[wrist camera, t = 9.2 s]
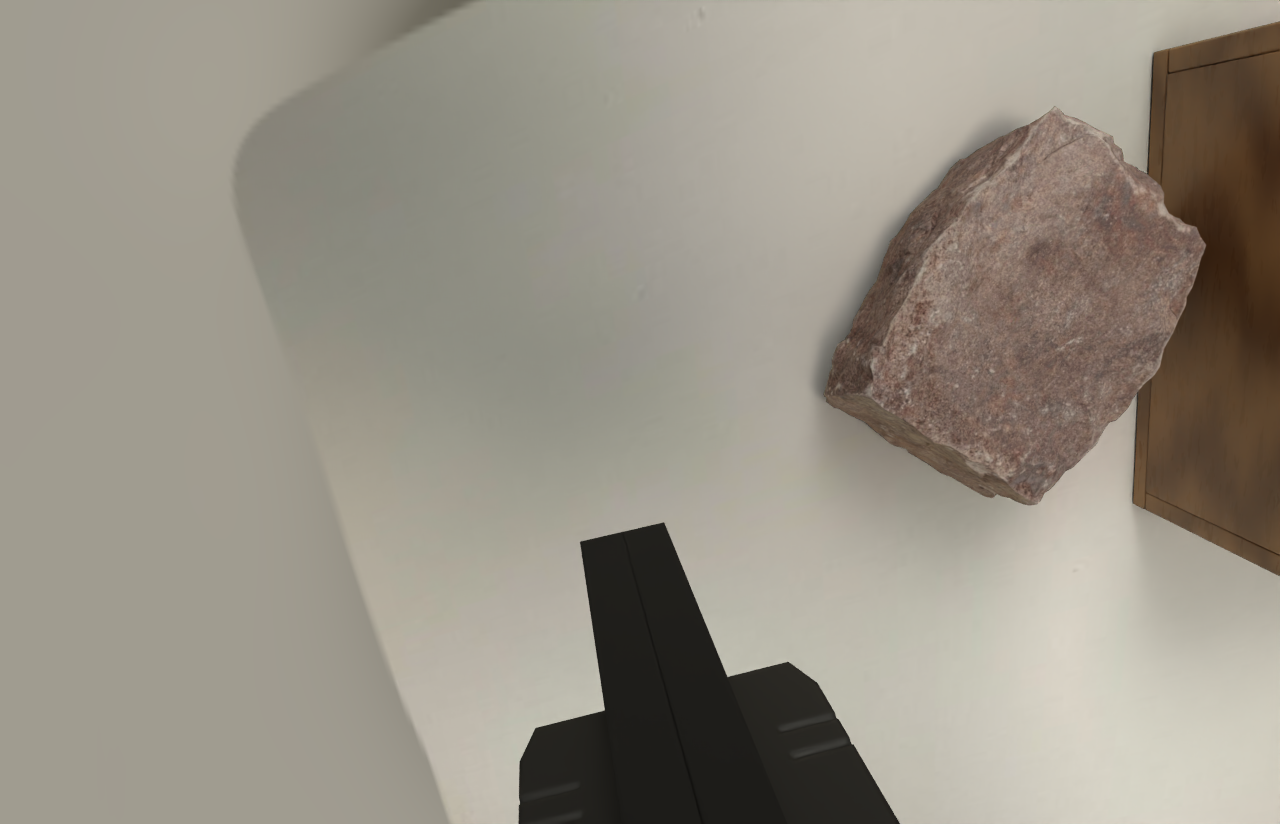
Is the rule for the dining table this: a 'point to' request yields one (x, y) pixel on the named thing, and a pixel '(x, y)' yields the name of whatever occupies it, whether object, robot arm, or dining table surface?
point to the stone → (1019, 310)
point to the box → (1219, 297)
